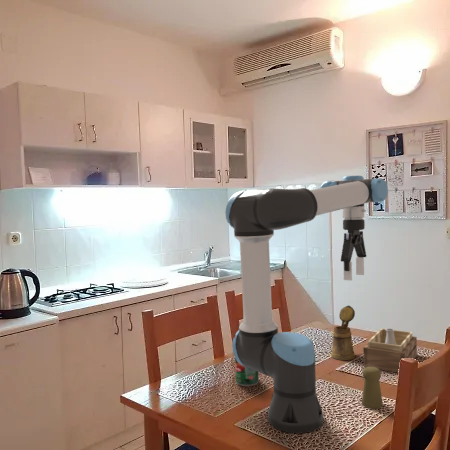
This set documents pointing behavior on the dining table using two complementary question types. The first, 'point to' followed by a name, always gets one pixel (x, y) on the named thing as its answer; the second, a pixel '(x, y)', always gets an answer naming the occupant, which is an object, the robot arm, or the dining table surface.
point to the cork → (372, 388)
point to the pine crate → (379, 343)
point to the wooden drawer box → (388, 356)
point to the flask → (390, 336)
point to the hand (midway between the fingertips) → (354, 277)
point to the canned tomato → (245, 375)
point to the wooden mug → (343, 336)
